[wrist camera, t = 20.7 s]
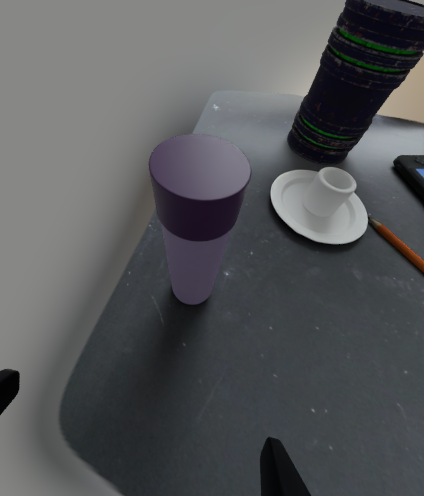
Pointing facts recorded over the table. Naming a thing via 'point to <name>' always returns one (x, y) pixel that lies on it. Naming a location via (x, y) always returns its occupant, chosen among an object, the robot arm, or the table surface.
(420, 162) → the game console
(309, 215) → the candle holder
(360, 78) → the dark blue cylinder
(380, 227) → the pencil
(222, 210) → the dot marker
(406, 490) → the table surface
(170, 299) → the table surface
